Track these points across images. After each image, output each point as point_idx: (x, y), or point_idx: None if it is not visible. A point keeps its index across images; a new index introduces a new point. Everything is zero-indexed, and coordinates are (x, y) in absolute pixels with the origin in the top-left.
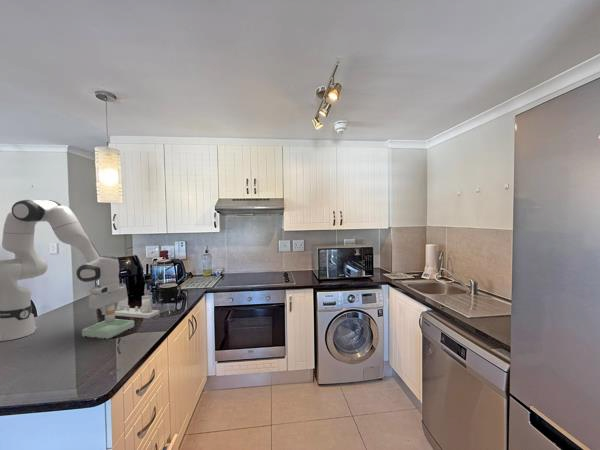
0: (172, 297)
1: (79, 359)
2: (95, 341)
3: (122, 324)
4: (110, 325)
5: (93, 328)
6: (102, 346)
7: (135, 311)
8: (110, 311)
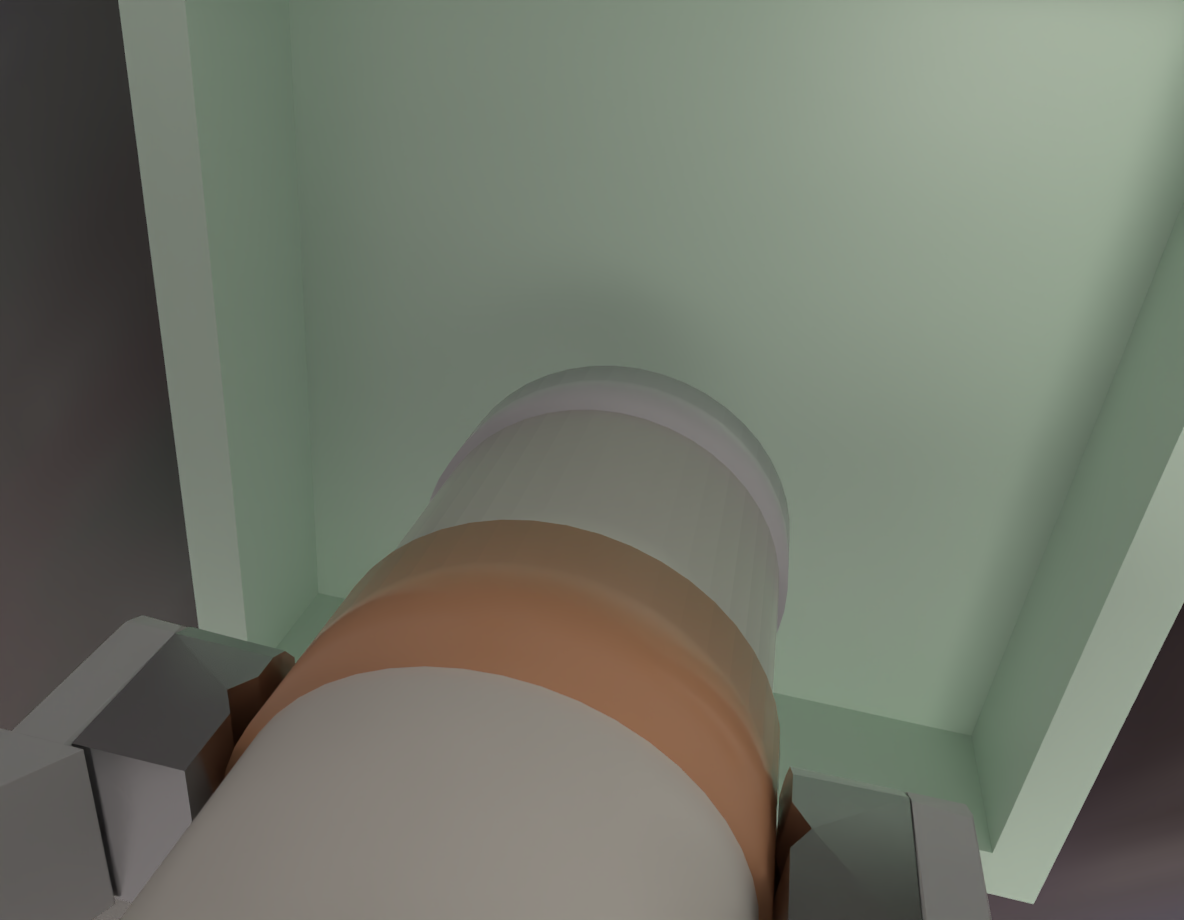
0: None
1: None
2: (129, 430)
3: (1070, 519)
4: (1132, 85)
5: None
6: (41, 675)
7: None
8: None
